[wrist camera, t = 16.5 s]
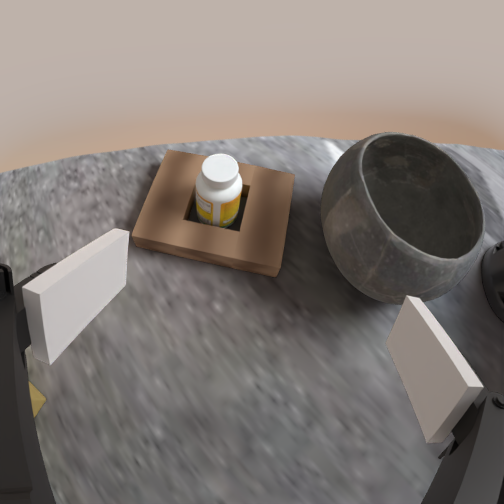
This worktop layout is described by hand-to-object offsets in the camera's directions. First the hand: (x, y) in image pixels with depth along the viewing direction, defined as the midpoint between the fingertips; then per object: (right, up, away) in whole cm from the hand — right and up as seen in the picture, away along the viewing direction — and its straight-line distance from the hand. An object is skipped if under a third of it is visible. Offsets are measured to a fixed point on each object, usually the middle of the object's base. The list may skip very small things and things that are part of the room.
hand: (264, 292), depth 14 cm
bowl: (+16, +2, +29) cm, 34 cm away
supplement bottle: (-5, +7, +29) cm, 30 cm away
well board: (-5, +7, +29) cm, 30 cm away
